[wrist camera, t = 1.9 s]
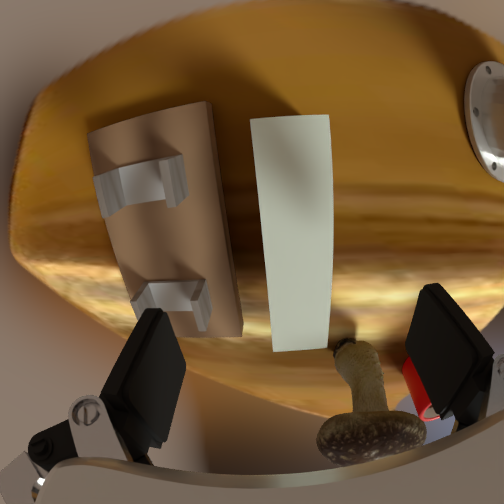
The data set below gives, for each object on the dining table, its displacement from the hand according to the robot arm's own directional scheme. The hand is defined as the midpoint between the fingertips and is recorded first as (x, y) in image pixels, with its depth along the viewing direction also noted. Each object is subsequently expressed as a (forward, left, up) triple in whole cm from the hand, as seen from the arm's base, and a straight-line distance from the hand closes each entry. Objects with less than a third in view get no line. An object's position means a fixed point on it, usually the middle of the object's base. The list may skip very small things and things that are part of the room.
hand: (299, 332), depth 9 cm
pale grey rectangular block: (-1, 0, -14) cm, 14 cm away
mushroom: (-7, +15, -14) cm, 21 cm away
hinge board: (+9, +1, -13) cm, 16 cm away
